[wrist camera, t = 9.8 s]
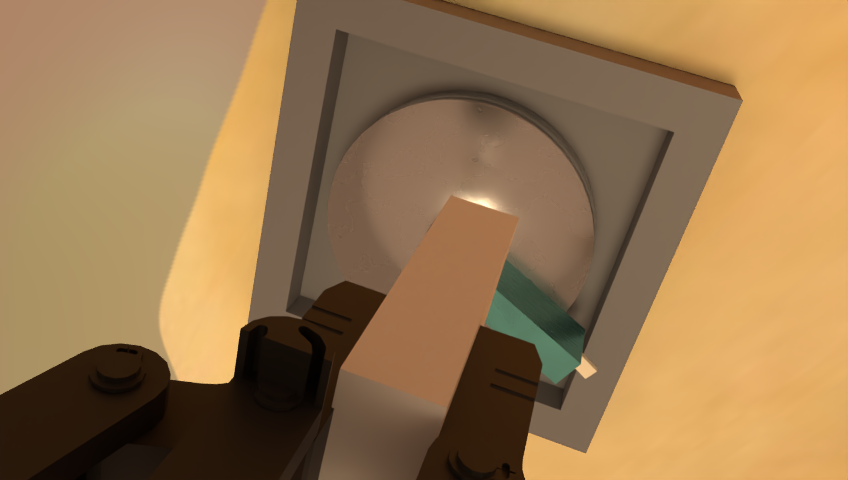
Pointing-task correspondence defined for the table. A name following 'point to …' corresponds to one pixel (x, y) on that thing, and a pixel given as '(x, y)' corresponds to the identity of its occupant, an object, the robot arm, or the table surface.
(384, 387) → the robot arm
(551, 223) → the dial
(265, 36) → the table surface
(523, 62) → the housing
